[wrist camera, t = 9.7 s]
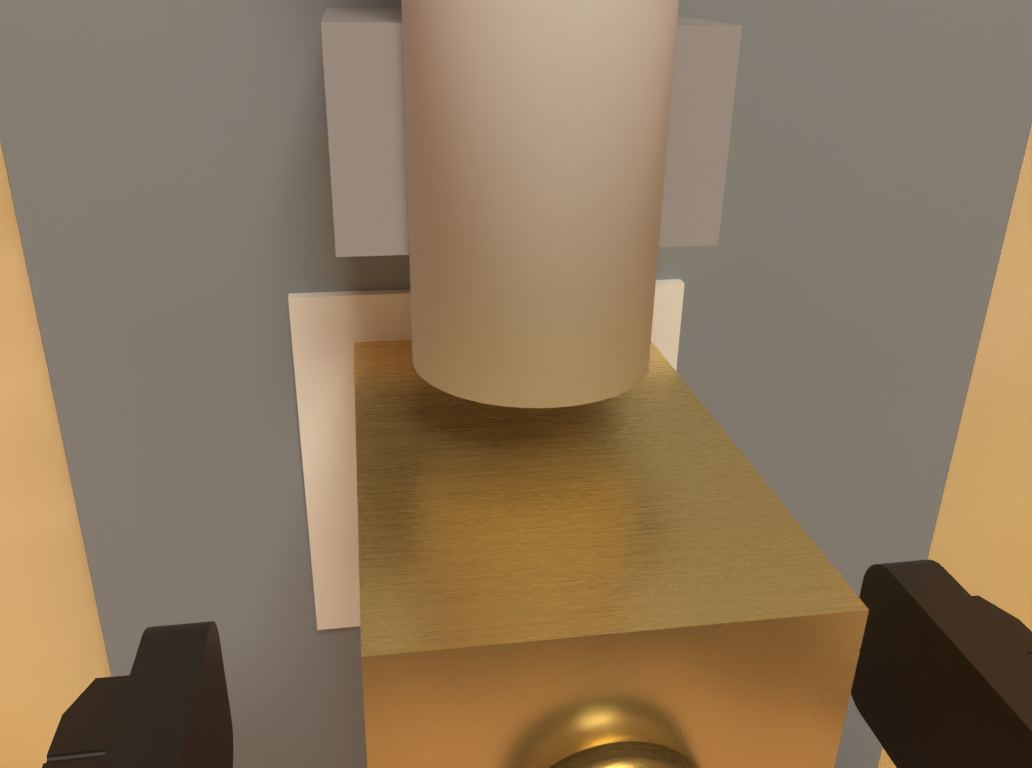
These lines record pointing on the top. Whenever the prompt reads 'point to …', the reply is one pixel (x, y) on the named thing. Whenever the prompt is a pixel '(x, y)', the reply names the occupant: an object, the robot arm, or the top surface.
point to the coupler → (585, 586)
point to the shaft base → (248, 212)
